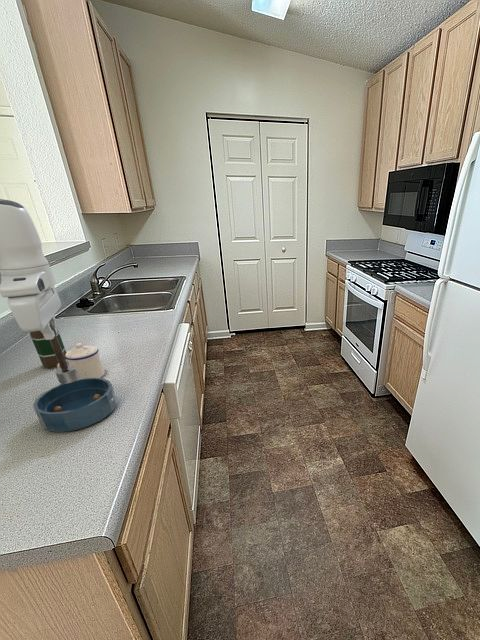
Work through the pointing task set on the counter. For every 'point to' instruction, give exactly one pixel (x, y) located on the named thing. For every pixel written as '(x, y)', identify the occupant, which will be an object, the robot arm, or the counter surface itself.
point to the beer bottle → (46, 349)
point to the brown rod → (62, 363)
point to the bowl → (75, 404)
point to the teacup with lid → (85, 361)
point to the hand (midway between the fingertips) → (52, 336)
